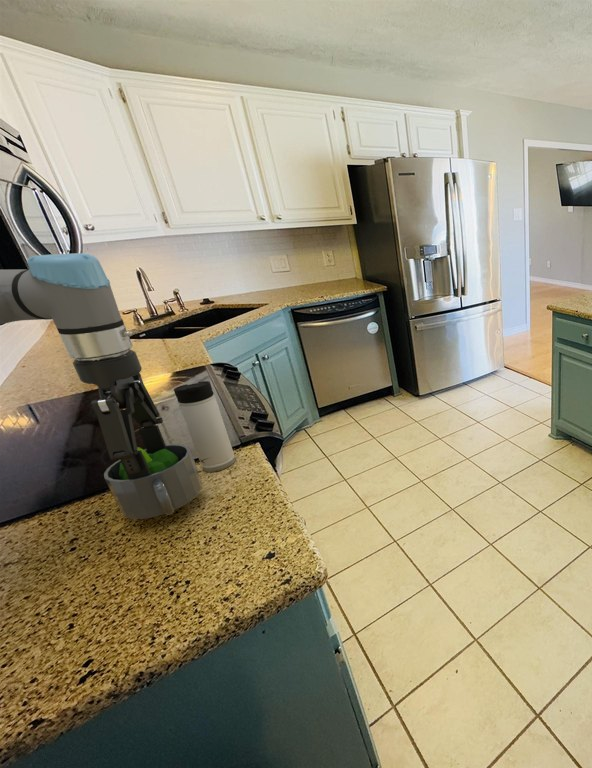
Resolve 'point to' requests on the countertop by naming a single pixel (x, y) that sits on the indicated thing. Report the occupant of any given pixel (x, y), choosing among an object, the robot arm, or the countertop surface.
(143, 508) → the wide gray mug
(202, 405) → the travel mug
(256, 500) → the countertop surface
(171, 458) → the bell pepper
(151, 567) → the countertop surface
